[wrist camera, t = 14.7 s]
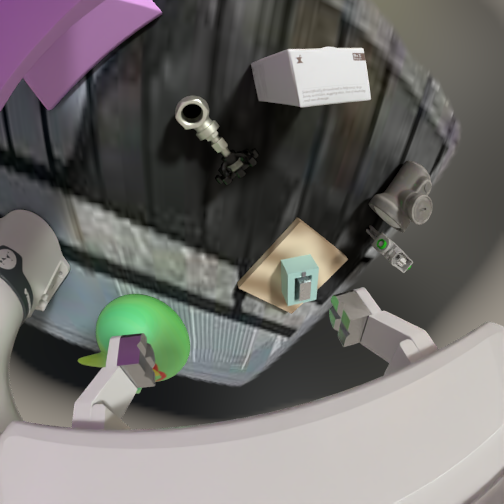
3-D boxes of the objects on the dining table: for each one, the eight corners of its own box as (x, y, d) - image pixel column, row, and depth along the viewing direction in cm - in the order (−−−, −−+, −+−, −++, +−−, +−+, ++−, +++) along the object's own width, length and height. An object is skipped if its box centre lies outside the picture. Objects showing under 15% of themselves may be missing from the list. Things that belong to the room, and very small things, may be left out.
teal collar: (308, 285, 53) (316, 300, 50) (281, 291, 53) (288, 307, 49) (310, 254, 49) (319, 268, 45) (280, 259, 48) (288, 275, 45)
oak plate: (289, 308, 58) (291, 313, 57) (237, 282, 51) (238, 288, 50) (344, 254, 53) (348, 259, 52) (297, 217, 46) (300, 221, 45)
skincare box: (257, 101, 34) (295, 112, 22) (249, 60, 31) (283, 48, 19) (314, 92, 35) (373, 104, 23) (307, 54, 31) (366, 46, 19)
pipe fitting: (382, 224, 50) (416, 246, 41) (359, 199, 47) (394, 219, 38) (416, 178, 47) (453, 193, 38) (396, 150, 44) (435, 161, 35)
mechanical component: (359, 210, 48) (390, 239, 40) (387, 234, 52) (415, 263, 44) (348, 222, 49) (377, 253, 41) (377, 245, 53) (405, 275, 45)
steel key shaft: (300, 280, 52) (310, 298, 48) (290, 282, 52) (299, 301, 48) (301, 263, 50) (311, 281, 46) (290, 265, 49) (300, 284, 45)
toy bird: (203, 322, 55) (211, 385, 44) (141, 350, 57) (139, 407, 45) (148, 262, 45) (139, 329, 33) (83, 301, 46) (66, 362, 35)
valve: (163, 114, 33) (217, 175, 39) (157, 120, 27) (221, 192, 34) (202, 83, 32) (254, 148, 38) (204, 82, 26) (265, 160, 33)
